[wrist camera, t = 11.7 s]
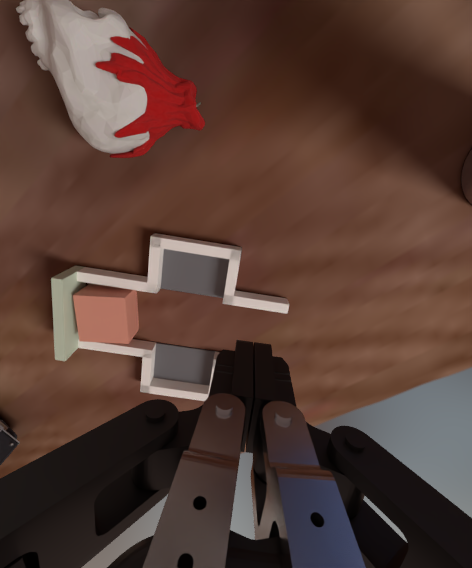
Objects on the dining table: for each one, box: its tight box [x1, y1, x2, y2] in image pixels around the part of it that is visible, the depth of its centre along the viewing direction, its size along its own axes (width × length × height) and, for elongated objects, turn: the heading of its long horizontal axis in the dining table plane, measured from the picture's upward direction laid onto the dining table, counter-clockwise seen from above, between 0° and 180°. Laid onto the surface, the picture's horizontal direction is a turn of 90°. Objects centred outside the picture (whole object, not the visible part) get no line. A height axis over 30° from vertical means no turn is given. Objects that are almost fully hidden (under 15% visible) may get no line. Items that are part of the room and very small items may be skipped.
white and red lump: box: [16, 0, 205, 158], centre depth 27 cm, size 9×11×15 cm
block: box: [73, 284, 139, 344], centre depth 37 cm, size 6×6×4 cm
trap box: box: [51, 233, 289, 401], centre depth 36 cm, size 27×22×5 cm
